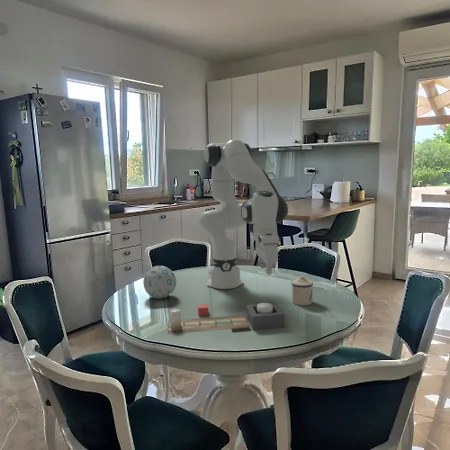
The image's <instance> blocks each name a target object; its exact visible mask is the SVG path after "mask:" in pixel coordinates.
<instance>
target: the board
mask: <svg viewBox="0 0 450 450" xmlns="http://www.w3.org/2000/svg"><path fill="white" fill-rule="evenodd" d="M221 330H231V331H232V332H239V331H240V332H241V331H251V325H250V323H249V321H248V319H247V316H246V315H245V314H240V315H237V314H236V315H227V316H226V315H225V316H213V317H200V318H199V317H198V318H188V319H181V327H180V328H177V329H173V328H171V325H170V320H167V335H172V334H182V333H183V334H185V333H195V332H196V333H197V332H207V331H208V332H209V331H221Z"/></svg>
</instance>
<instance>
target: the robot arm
mask: <svg viewBox="0 0 450 450" xmlns="http://www.w3.org/2000/svg"><path fill="white" fill-rule="evenodd" d="M203 154H204V155H203V158H204V160H205V163H206V164H207V165H208V166H209V167H211V197H212V198H213V200H215V201H217V202H219V203H220V205H221V208H219V209H218V208H217V209H210V210H205V211H204V212H203V211H202V212H201V214H200V215H199V219H198V225H199V227H200V229H201V230H202V231H203V232H204V233H206V235H208V237H209V238H210V240H211V243H212V244H211V245H212V252H213V257H212V265H213V266H212V267H211V269H210V270H208V275H209V277H208V280H207V283H206V287H208V288H209V287H210V288H214V289H218V290H228V289H229V290H230V289H235V288H237V287H239V286H243V285H244V284H245V282H244V281H243V280H242V279H241V270H240V268H239V266H237V265H238V261H237V260H238V259H237V255H236V243H235V241H234V240H233V239H232V238H231V237H228V236H227V234H226V231H232V230H234V231H235V230H237V229H241V228H244V227H245V226H246V225H247V224H253V226H252V230H253V231H252V235H253V237H252V238H253V239H252V240H253V241H255V254H256V255H257V256H258V258H259V263H260V264H259V265H260V268H261V269H265V273H266V275H267V276H270V275H272V274H273V271H272V270H273V266H274V265H275V266H276V265H277V263H278V256H279V255H278V254H279V248H278V247H279V246H278V244H279V243H280V237H279V234H278V226H277V225H278V224H280V223H282V222H283V221H284V220H286V218H287V216H288V213H289V207H288V204H287V202H286V200H285V199H284V198H283V197H282V196H281V195H280V193H279V192H278V190H277V189H276V186H275V185H274V184H273V181H272V180H271V179H270V177H269V175H268V173H267V172H266V171H265V170H264V169H263V168H261V167H260V166H258V165H257V164H256V163H255V161H254V160H253V159H252V149H251V147H250V144H248V143H245V142H243V141H242V140H240V139H232V140H229V141H227V142H217V143H215V142H214V143H213V142H212V143H210V144H207V145H206V147H205V148H204V153H203ZM235 181H236V182H239V183H244V184H249V185H253V186H255V187H257V188H259V190H258V191H255V192H254V193H253V194H252V197H251V198H249V199H247V200H244V201H243V203H242V204H241V206H240V205H239V204H238V202H237V199H236V195H235V194H236V193H235Z"/></svg>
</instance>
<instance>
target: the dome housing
mask: <svg viewBox="0 0 450 450" xmlns="http://www.w3.org/2000/svg"><path fill="white" fill-rule="evenodd" d="M268 303H269V304H272V305H273V313H266V314H257V305H258V304H259V303H258V304H246V320H247V322H248V324H249V326H250V328H251V329H252V330H254V331H255V330H264V329H265V330H266V329H275V328H285V313H284V312H283V310H282V308H280V306H279V305H278V303H277V302H268Z"/></svg>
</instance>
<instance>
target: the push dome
mask: <svg viewBox="0 0 450 450" xmlns="http://www.w3.org/2000/svg"><path fill="white" fill-rule="evenodd" d="M269 303H270V302H261V303H258V305H257V314H266V313H273V305H272V304H269Z"/></svg>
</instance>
